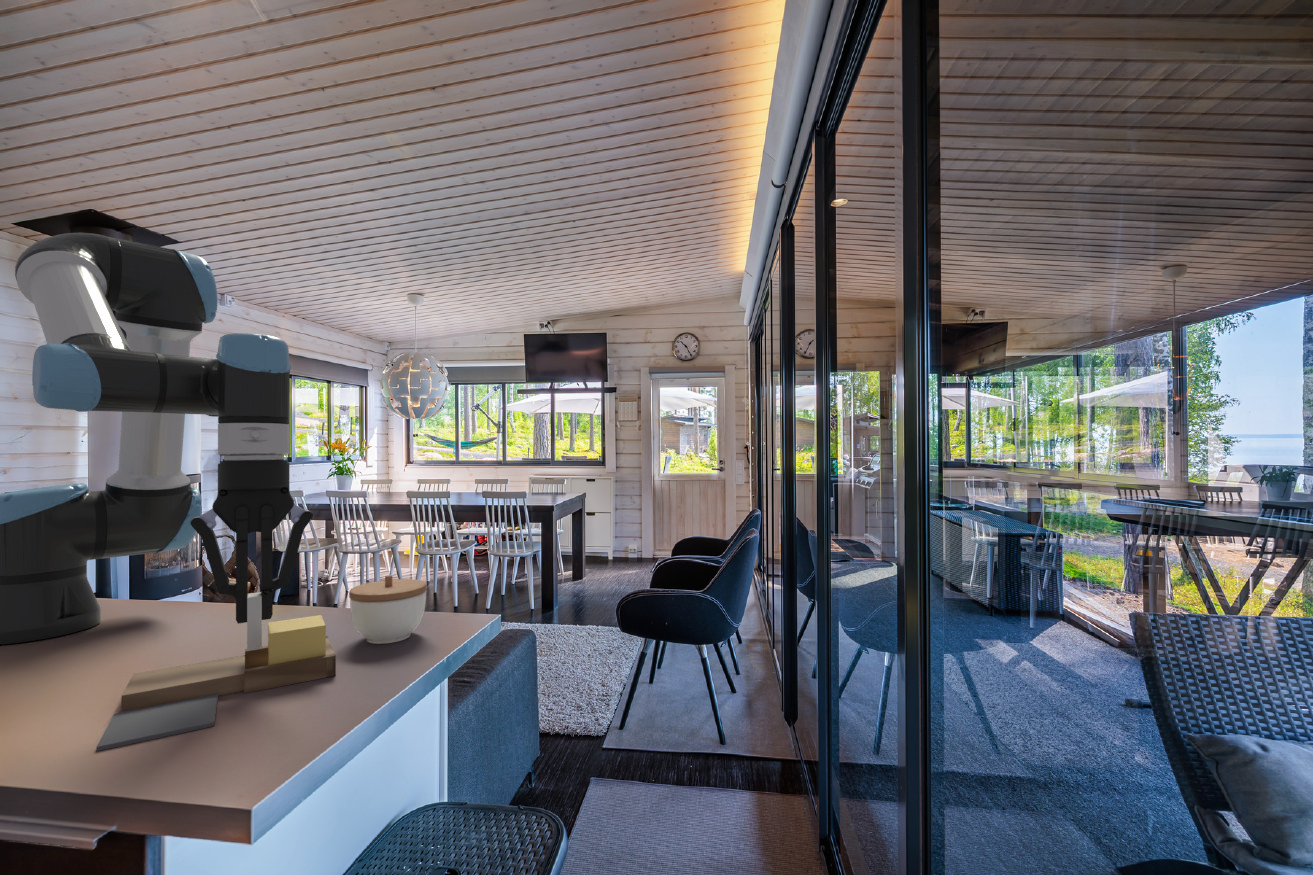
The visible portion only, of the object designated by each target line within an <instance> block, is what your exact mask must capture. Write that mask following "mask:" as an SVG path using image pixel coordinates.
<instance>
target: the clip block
mask: <svg viewBox="0 0 1313 875" xmlns="http://www.w3.org/2000/svg"><path fill="white" fill-rule="evenodd" d="M267 625H268V627H267V631H268V632H267V639H268V640H267V641H268V642H267V646H268V665H272V664H278V663H283V662H289V661H295V660H300V659H306V658H312V657H317V656H323V655H326V636H327V635H326V632H327V631H326V626H327V625H326V623H325V621H324V618H323V615H322V614H317V615H312V616H303V617H298V618H290V619H284V620H278V621H277V620H275V621H269V622H268V624H267Z"/></svg>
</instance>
